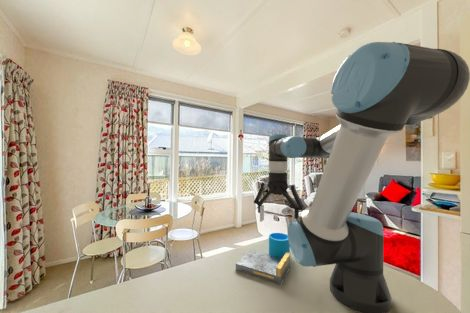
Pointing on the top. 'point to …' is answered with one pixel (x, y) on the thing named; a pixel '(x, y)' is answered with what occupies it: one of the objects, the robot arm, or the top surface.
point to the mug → (278, 244)
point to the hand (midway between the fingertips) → (277, 223)
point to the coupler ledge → (264, 266)
